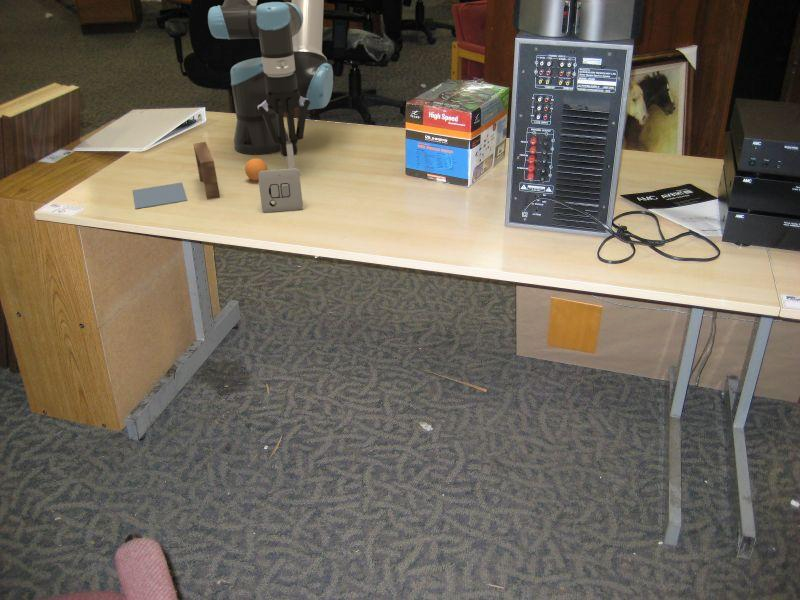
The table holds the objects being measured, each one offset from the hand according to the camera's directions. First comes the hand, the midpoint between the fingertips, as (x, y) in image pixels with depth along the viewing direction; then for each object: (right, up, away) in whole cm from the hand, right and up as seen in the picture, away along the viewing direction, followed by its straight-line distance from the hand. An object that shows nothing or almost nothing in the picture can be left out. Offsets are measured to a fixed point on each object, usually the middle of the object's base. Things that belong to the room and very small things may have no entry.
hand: (290, 167), depth 189 cm
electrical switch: (0, -12, -16) cm, 20 cm away
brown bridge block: (-19, -6, -5) cm, 21 cm away
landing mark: (-31, -8, -8) cm, 33 cm away
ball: (-8, -1, -3) cm, 9 cm away
